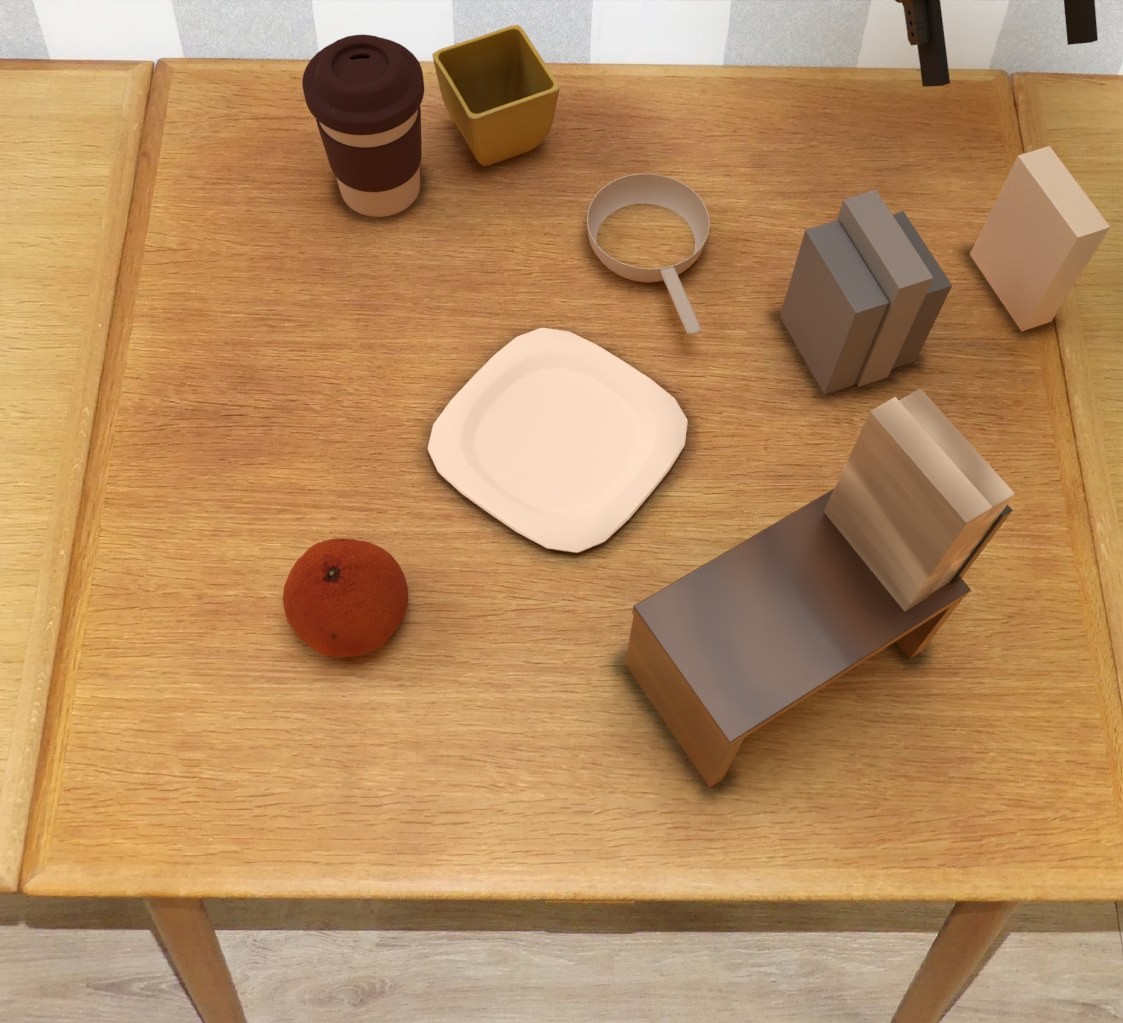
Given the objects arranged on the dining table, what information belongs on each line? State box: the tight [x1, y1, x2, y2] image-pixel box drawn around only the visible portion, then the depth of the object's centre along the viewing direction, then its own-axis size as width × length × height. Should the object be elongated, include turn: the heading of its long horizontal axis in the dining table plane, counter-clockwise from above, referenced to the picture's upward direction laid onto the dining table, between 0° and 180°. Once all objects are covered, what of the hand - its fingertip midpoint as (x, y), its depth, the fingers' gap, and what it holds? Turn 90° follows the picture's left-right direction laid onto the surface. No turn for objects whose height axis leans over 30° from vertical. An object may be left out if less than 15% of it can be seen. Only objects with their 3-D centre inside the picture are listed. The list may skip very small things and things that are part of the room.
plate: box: [426, 327, 689, 554], centre depth 100 cm, size 18×18×2 cm
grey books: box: [779, 189, 953, 395], centre depth 99 cm, size 9×9×14 cm
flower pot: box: [431, 24, 561, 167], centre depth 111 cm, size 9×9×9 cm
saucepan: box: [586, 172, 711, 336], centre depth 107 cm, size 11×18×4 cm, turn 16°
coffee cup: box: [301, 34, 425, 218], centre depth 106 cm, size 10×10×15 cm
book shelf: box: [624, 388, 1016, 788], centre depth 81 cm, size 20×11×25 cm, turn 122°
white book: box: [969, 145, 1111, 332], centre depth 103 cm, size 9×3×13 cm, turn 21°
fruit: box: [282, 537, 409, 658], centre depth 90 cm, size 9×9×8 cm
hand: (1010, 64), depth 98 cm, fingers open, 13 cm apart
